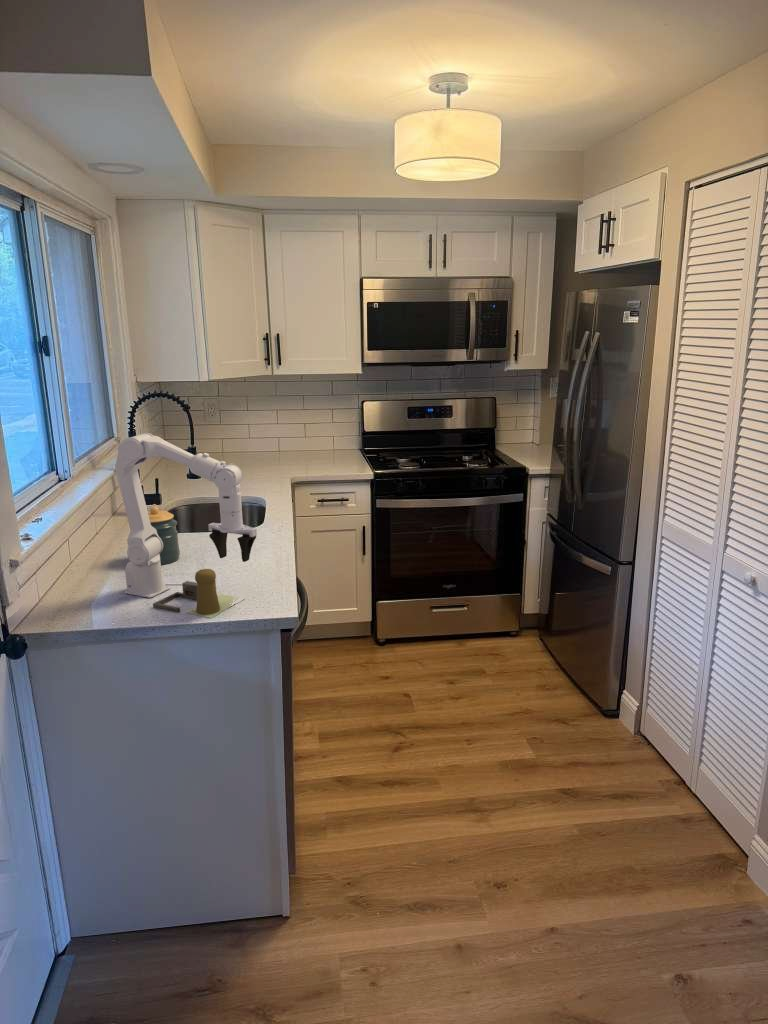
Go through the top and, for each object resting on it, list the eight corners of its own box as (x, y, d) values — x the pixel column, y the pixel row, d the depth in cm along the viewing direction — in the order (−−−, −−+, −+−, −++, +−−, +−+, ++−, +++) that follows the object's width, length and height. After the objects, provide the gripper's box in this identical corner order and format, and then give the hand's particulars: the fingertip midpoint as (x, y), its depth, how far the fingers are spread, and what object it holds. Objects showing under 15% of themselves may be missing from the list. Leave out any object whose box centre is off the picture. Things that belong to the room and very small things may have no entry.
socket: (153, 607, 178) (151, 593, 177) (191, 589, 192) (190, 575, 191) (178, 612, 175) (176, 598, 174) (215, 593, 188) (214, 579, 187)
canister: (167, 567, 210) (162, 512, 206) (129, 565, 213) (123, 510, 208) (187, 554, 222) (182, 502, 218) (151, 552, 225) (146, 500, 220)
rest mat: (186, 613, 175) (186, 612, 175) (220, 594, 187) (220, 594, 187) (211, 618, 171) (211, 617, 171) (244, 599, 184) (244, 598, 183)
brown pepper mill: (222, 605, 179) (219, 566, 176) (217, 614, 173) (214, 574, 170) (199, 606, 179) (195, 566, 176) (193, 615, 173) (190, 574, 170)
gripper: (199, 511, 180) (203, 559, 184) (244, 516, 174) (247, 566, 178) (216, 505, 187) (220, 552, 190) (260, 510, 180) (263, 558, 184)
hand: (234, 558), depth 184 cm, fingers open, 7 cm apart
